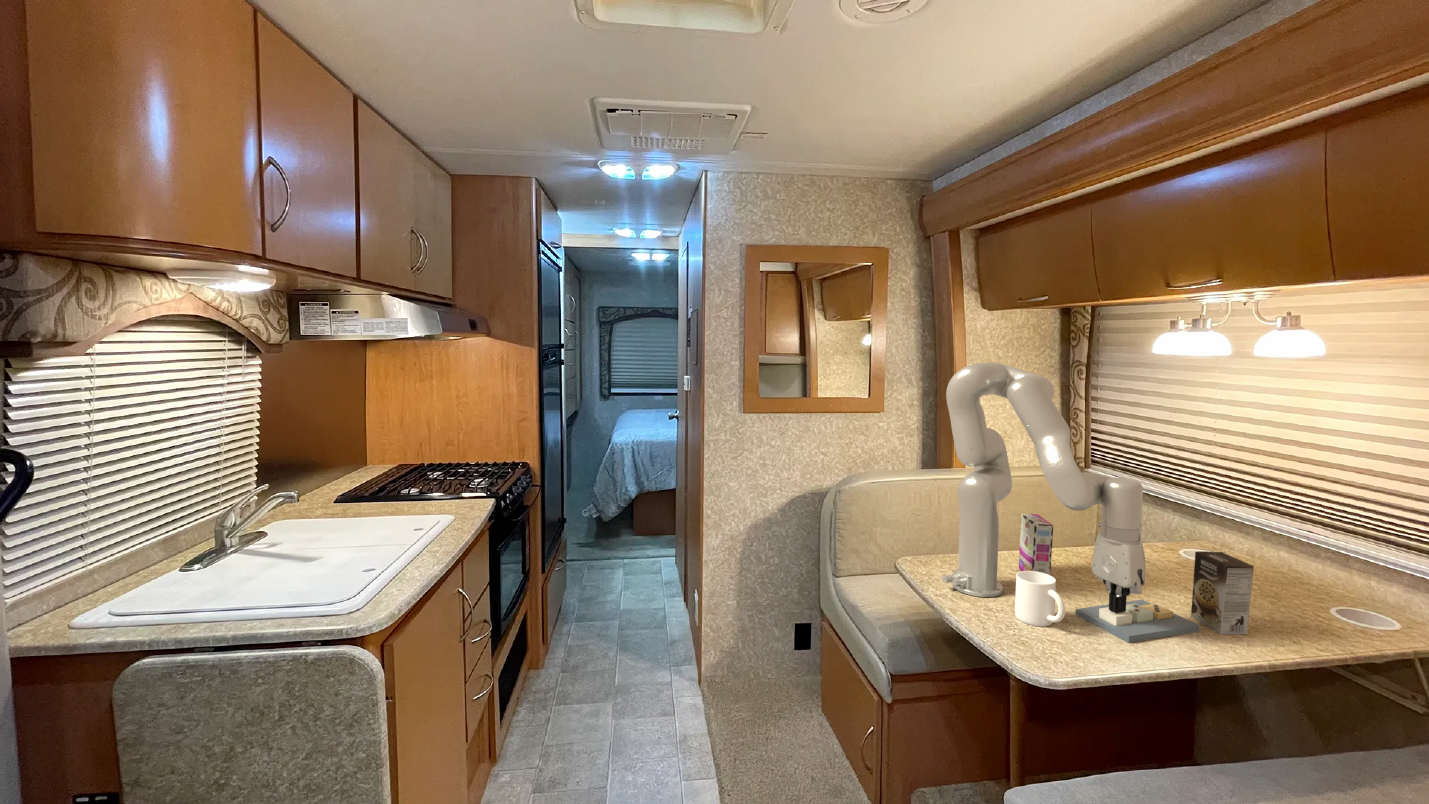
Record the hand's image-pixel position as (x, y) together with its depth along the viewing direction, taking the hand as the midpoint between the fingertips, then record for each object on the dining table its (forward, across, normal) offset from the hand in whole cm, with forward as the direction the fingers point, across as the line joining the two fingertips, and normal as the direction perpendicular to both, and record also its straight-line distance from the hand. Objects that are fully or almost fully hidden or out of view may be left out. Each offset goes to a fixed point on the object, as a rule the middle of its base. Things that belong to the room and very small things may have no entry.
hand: (1117, 610), depth 138 cm
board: (+4, 0, +6) cm, 7 cm away
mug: (+4, -6, -15) cm, 17 cm away
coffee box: (+4, +6, +23) cm, 24 cm away
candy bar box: (+4, -30, +5) cm, 31 cm away
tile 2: (+3, 0, +6) cm, 6 cm away
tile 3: (+3, 0, +12) cm, 12 cm away
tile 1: (+3, 0, 0) cm, 3 cm away
